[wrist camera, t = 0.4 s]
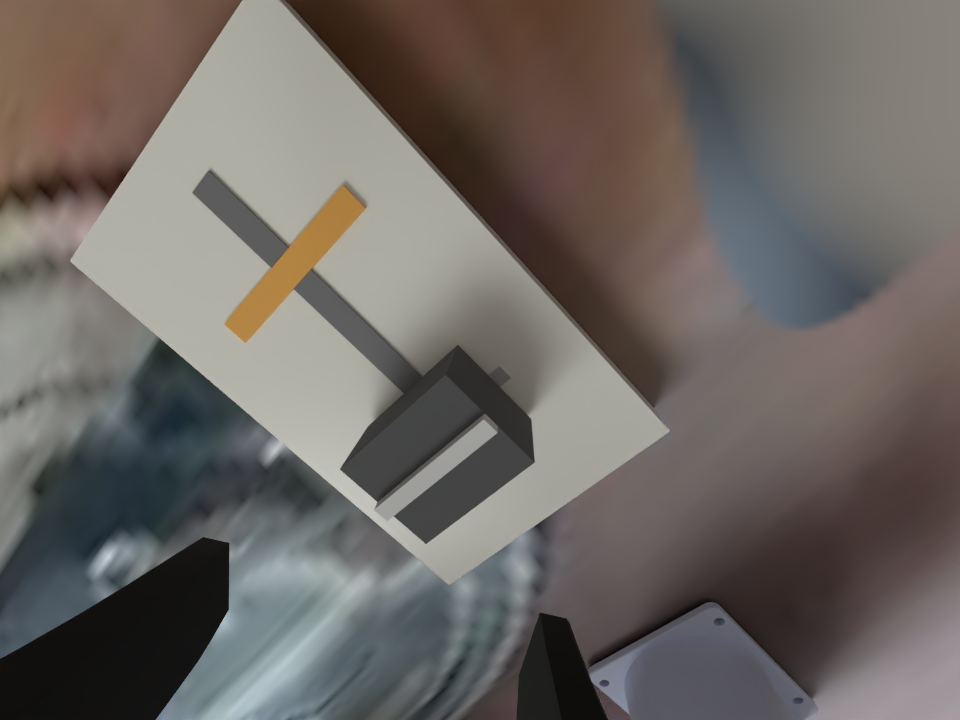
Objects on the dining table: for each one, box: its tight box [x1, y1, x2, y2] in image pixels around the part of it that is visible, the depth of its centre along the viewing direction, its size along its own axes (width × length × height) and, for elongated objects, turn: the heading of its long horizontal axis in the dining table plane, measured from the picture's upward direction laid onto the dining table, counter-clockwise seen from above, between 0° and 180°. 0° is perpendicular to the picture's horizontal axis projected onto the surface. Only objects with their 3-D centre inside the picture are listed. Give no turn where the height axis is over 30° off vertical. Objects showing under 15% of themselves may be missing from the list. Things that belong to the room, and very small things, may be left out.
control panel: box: [70, 0, 670, 585], centre depth 17 cm, size 20×12×2 cm, turn 44°
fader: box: [340, 345, 535, 544], centre depth 15 cm, size 4×5×3 cm
